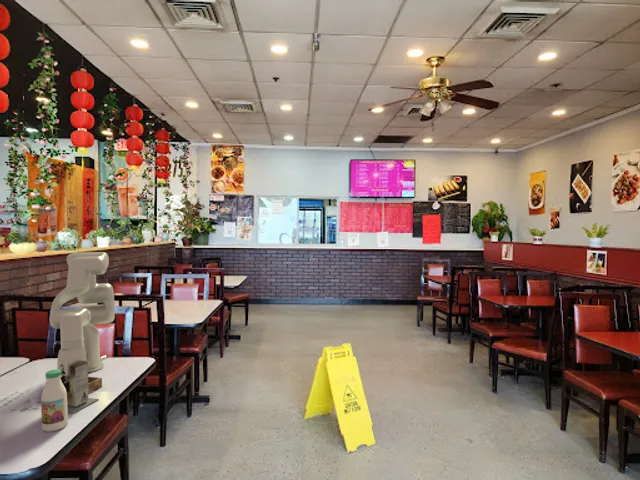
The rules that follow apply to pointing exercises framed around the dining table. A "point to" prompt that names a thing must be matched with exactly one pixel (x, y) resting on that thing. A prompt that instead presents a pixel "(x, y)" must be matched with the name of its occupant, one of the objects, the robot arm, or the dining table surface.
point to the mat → (80, 406)
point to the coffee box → (78, 384)
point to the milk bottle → (54, 403)
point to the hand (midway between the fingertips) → (73, 387)
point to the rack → (94, 384)
